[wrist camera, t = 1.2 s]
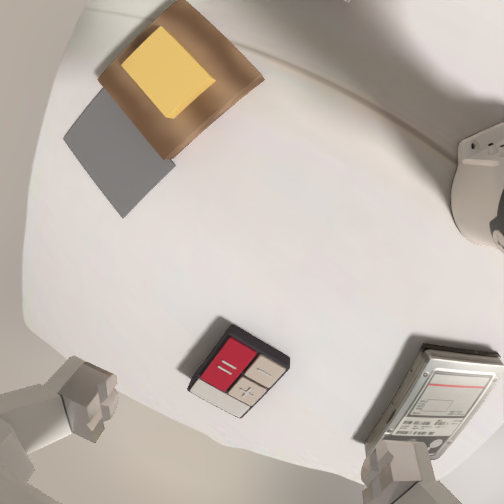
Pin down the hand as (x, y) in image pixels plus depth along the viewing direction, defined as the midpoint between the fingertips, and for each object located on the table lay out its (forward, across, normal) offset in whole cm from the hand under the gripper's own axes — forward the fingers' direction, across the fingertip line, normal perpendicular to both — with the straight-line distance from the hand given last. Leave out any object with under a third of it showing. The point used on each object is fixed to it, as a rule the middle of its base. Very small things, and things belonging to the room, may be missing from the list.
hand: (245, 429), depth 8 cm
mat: (+36, +26, -2) cm, 44 cm away
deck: (+36, +18, -13) cm, 42 cm away
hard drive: (+36, -36, +29) cm, 59 cm away
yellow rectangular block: (+32, +18, -13) cm, 39 cm away
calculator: (+36, +1, +29) cm, 46 cm away
